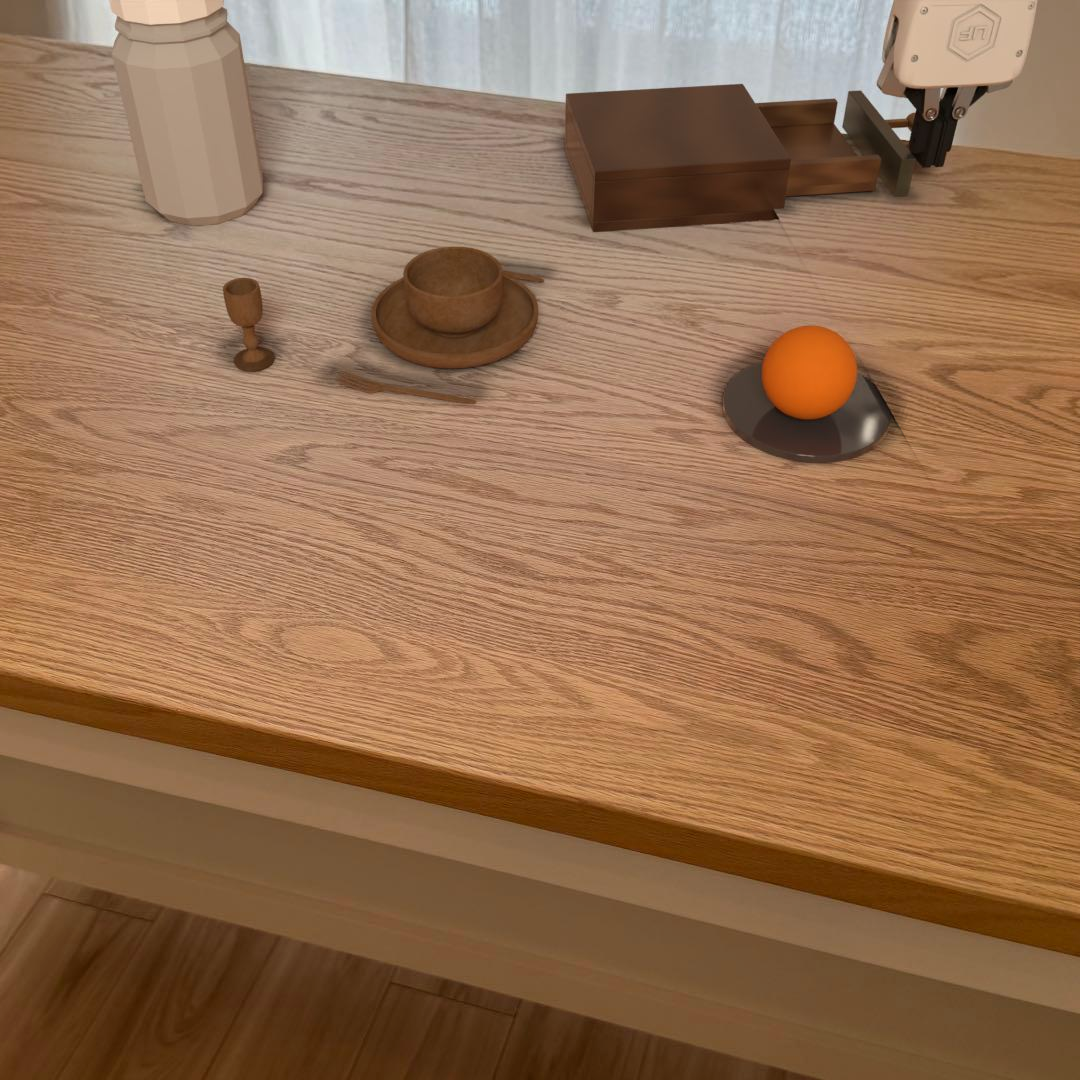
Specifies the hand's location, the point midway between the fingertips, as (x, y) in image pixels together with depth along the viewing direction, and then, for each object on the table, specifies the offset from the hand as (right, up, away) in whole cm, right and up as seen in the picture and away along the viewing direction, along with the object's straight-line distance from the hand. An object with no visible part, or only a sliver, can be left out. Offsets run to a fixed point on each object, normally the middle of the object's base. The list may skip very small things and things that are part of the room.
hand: (926, 159), depth 102 cm
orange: (-14, -22, -20) cm, 33 cm away
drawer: (-7, +1, +5) cm, 9 cm away
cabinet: (-21, -1, +5) cm, 21 cm away
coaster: (-14, -23, -19) cm, 33 cm away
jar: (-60, -3, +2) cm, 60 cm away
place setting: (-42, -16, -11) cm, 46 cm away
